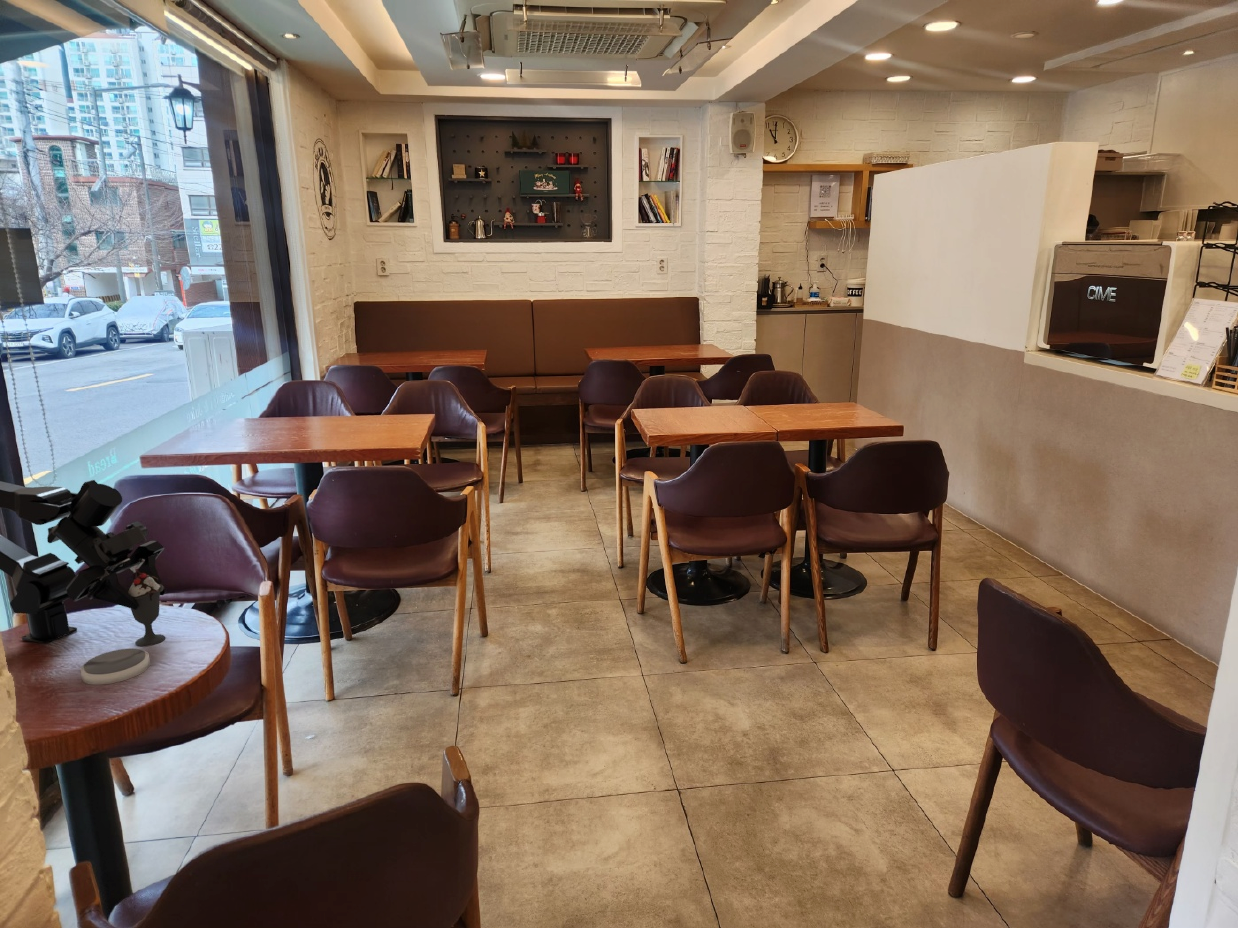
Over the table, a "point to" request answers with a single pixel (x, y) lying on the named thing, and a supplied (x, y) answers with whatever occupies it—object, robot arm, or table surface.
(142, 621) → the sundae
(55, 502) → the robot arm
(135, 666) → the round mirror
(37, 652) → the table surface
